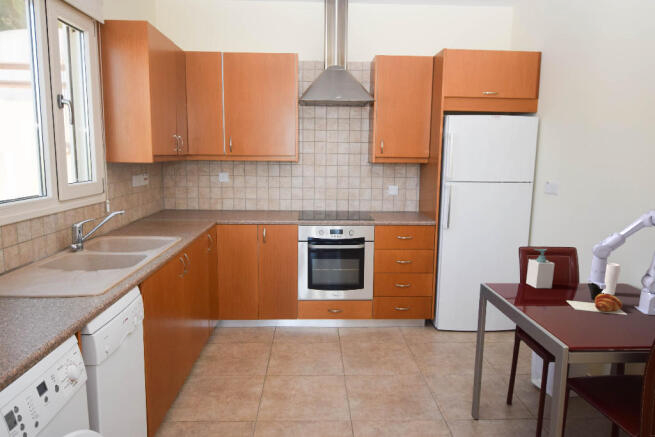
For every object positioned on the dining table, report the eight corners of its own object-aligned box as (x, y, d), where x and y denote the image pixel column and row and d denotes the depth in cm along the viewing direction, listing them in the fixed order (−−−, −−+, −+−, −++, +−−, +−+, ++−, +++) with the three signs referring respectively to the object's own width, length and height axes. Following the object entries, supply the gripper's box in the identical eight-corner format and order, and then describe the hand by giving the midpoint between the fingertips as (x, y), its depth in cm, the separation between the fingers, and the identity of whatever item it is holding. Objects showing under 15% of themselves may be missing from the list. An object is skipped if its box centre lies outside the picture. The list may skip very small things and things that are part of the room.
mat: (627, 314, 183) (627, 314, 183) (575, 309, 187) (575, 309, 187) (614, 305, 194) (614, 305, 194) (566, 300, 198) (566, 300, 198)
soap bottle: (525, 283, 225) (529, 247, 222) (541, 283, 226) (545, 247, 223) (535, 288, 216) (539, 250, 214) (551, 288, 218) (556, 251, 215)
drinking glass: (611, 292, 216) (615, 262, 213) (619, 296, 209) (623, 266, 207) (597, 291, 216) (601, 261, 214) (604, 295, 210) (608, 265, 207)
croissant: (607, 309, 199) (600, 292, 201) (631, 304, 192) (624, 287, 194) (590, 317, 185) (583, 299, 187) (616, 313, 178) (608, 294, 180)
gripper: (582, 266, 202) (578, 294, 204) (595, 274, 188) (590, 304, 190) (599, 267, 200) (595, 295, 202) (613, 275, 186) (608, 306, 188)
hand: (594, 300), depth 196 cm, fingers closed
